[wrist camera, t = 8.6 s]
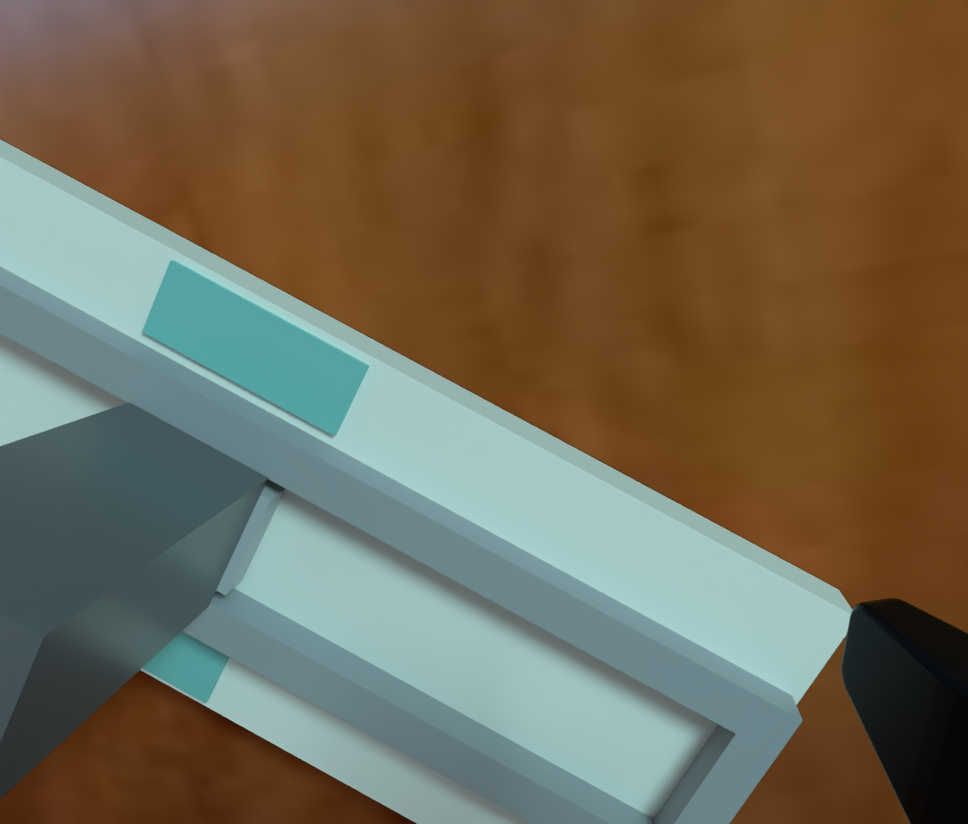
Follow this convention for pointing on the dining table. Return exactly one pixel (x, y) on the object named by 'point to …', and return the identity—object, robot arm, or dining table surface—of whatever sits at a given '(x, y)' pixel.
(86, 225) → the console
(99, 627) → the fader
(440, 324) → the dining table surface
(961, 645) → the robot arm
